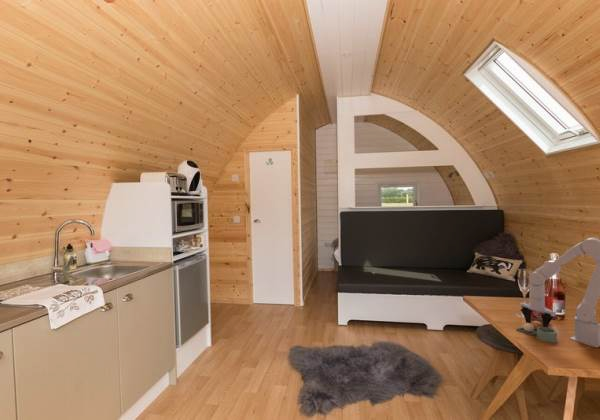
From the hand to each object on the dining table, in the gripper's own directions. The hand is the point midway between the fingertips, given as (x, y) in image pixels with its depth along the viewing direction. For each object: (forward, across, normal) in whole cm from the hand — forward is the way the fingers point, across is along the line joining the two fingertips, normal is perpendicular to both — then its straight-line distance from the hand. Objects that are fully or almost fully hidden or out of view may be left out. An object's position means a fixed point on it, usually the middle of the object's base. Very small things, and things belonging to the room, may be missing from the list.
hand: (536, 326), depth 152 cm
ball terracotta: (+1, 0, 0) cm, 1 cm away
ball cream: (+1, 0, +6) cm, 6 cm away
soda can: (+2, +8, -16) cm, 18 cm away
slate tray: (+2, 0, +3) cm, 3 cm away
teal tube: (+2, -8, +7) cm, 11 cm away
